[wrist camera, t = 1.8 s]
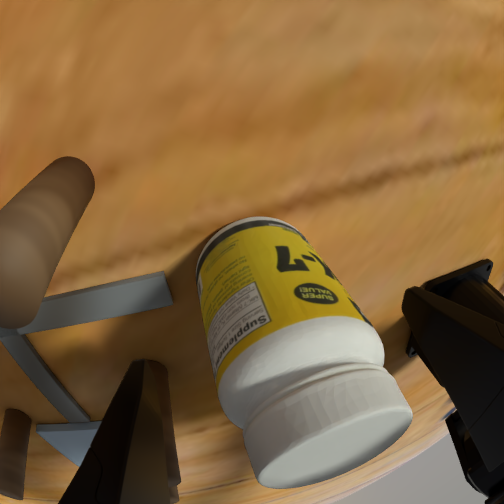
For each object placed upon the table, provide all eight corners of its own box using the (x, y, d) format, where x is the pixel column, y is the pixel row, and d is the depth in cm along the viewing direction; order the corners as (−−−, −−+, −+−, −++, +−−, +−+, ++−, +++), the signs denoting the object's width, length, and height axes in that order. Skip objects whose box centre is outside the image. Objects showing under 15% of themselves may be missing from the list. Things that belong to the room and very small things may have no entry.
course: (128, 137, 9) (85, 207, 4) (211, 403, 17) (232, 495, 12) (-114, 240, 7) (-174, 315, 2) (16, 424, 15) (7, 497, 10)
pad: (139, 416, 17) (140, 424, 16) (177, 461, 21) (178, 468, 21) (36, 424, 16) (35, 431, 15) (90, 469, 20) (90, 475, 19)
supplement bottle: (328, 251, 14) (449, 406, 7) (259, 325, 15) (325, 491, 8) (244, 188, 11) (369, 381, 4) (170, 282, 13) (198, 494, 6)
